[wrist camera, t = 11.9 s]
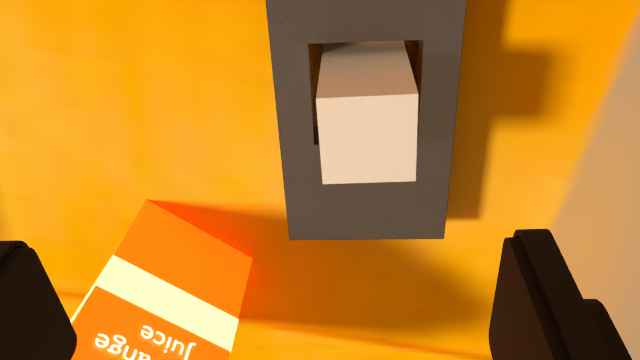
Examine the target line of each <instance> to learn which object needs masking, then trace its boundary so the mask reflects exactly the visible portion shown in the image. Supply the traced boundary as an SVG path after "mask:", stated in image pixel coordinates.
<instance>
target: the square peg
mask: <svg viewBox="0 0 640 360" xmlns="http://www.w3.org/2000/svg"><path fill="white" fill-rule="evenodd" d="M316 107H317V120H318V132H319V145H320V158H321V170H322V183H323V184H346V183H377V182H408V181H416V156H417V123H418V91H417V87H416V84H415V80H414V76H413V73H412V69H411V66H410V62H409V58H408V55H407V51H406V48H405V44H404V41H373V42H343V43H324V45H323V52H322V59H321V66H320V73H319V80H318V87H317V94H316Z"/></svg>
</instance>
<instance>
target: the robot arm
mask: <svg viewBox="0 0 640 360" xmlns="http://www.w3.org/2000/svg"><path fill="white" fill-rule="evenodd" d="M489 345H490V350H491V354H492V358H493V360H632V358H631V357H630V355H629V353H628V351H627V349H626V347H625V345H624V343H623V341H622V339H621V337H620V335H619V333H618V331H617V330H616V328H615V326H614V324H613V322H612V320H611V318H610V316H609V314H608V312H607V311H606V309H605V307H604V306H603V304H602V303H601V302H600V301H598V300H597V299H583V298H582V295H581V293H580V291H579V290H578V287H577V285H576V283H575V281H574V279H573V277H572V275H571V273H570V271H569V269H568V267H567V265H566V262H565V260H564V258H563V256H562V254H561V252H560V250H559V248H558V246H557V244H556V242H555V240H554V237H553V235H552V234H551V232H550V231H549V230H548V229H524V230H516V231H515V233H514V236H513V237H510V238H505V239H504V243H503V248H502V255H501V261H500V267H499V273H498V279H497V285H496V291H495V297H494V303H493V309H492V315H491V322H490V328H489ZM76 347H77V335H76V332H75V330H74V328H73V326H72V324H71V322H70V320H69V318H68V316H67V314H66V312H65V310H64V308H63V306H62V304H61V302H60V300H59V298H58V296H57V294H56V292H55V290H54V288H53V286H52V284H51V282H50V280H49V278H48V276H47V274H46V272H45V270H44V268H43V266H42V264H41V261H40V259H39V257H38V255H37V253H36V252H35V250H34V249H32V248H29V247H28V245H27V244H26V243H25V242H23V241H0V360H71V359H72V357H73V355H74V353H75V350H76Z"/></svg>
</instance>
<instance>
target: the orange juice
mask: <svg viewBox="0 0 640 360" xmlns="http://www.w3.org/2000/svg"><path fill="white" fill-rule="evenodd" d="M252 259H253V258H251V257H249V256H248V255H246V254H244V253H242V252H240V251H239V250H237V249H235V248H233V247H231V246H229V245H228V244H226V243H224V242H222V241H220V240H219V239H217V238H215V237H213V236H211V235H210V234H208V233H206V232H204V231H202V230H201V229H199V228H197V227H195V226H193V225H192V224H190V223H188V222H186V221H184V220H183V219H181V218H179V217H177V216H175V215H174V214H172V213H170V212H168V211H166V210H165V209H163V208H161V207H159V206H157V205H156V204H154V203H152V202H150V201H148V200H147V199H146V201H145V202H144V204H143V205H142V207H141V209H140V210H139V212H138V213H137V215H136V216H135V218H134V219H133V221H132V223H131V224H130V226H129V227H128V229H127V230H126V232H125V233H124V235H123V236H122V238H121V240H120V241H119V243H118V244H117V246H116V247H115V249H114V250H113V252H112V254H111V255H110V257H109V258H108V260H107V261H106V263H105V264H104V266H103V268H102V269H101V271H100V273H99V274H98V276H97V278H96V279H95V281H94V283H93V284H92V286H91V288H90V289H89V291H88V293H87V295H86V296H85V298H84V300H83V301H82V303H81V305H80V306H79V308H78V310H77V311H76V313H75V314H74V316H73V317H72V319H71V320H70V322H71V324H72V326H73V328H74V330H75V332H76V335H77V347H76V350H75V353H74V355H73V357H72V359H71V360H228V358H229V354H230V352H231V350H232V345H233V341H234V337H235V333H236V329H237V325H238V320H239V319H238V317H239V313H240V309H241V305H242V300H243V296H244V292H245V288H246V284H247V280H248V276H249V272H250V267H251V263H252Z"/></svg>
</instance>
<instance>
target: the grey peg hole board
mask: <svg viewBox="0 0 640 360" xmlns="http://www.w3.org/2000/svg"><path fill="white" fill-rule="evenodd" d="M466 1H467V0H266V9H267V19H268V29H269V39H270V49H271V60H272V70H273V80H274V90H275V100H276V110H277V120H278V130H279V140H280V150H281V160H282V170H283V180H284V190H285V200H286V210H287V220H288V230H289V240H352V239H444V233H445V223H446V212H447V202H448V191H449V181H450V170H451V159H452V149H453V138H454V128H455V117H456V107H457V96H458V85H459V75H460V64H461V54H462V43H463V32H464V22H465V11H466ZM404 40H418V43H417V63H416V87H417V91H418V123H417V156H416V181H408V182H377V183H346V184H323V183H322V170H321V158H320V145H319V132H318V126H316V110H315V93H314V75H313V58H312V43H343V42H373V41H404Z"/></svg>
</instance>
